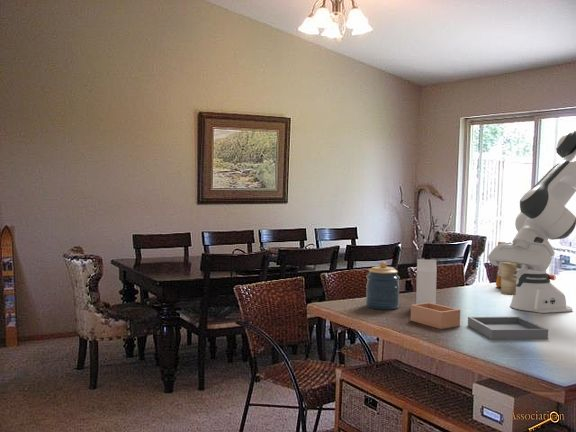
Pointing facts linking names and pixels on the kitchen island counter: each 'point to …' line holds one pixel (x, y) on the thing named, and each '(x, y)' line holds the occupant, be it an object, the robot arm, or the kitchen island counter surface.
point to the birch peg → (508, 278)
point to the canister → (382, 288)
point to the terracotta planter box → (435, 315)
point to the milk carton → (426, 281)
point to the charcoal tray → (507, 328)
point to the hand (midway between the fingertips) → (507, 276)
